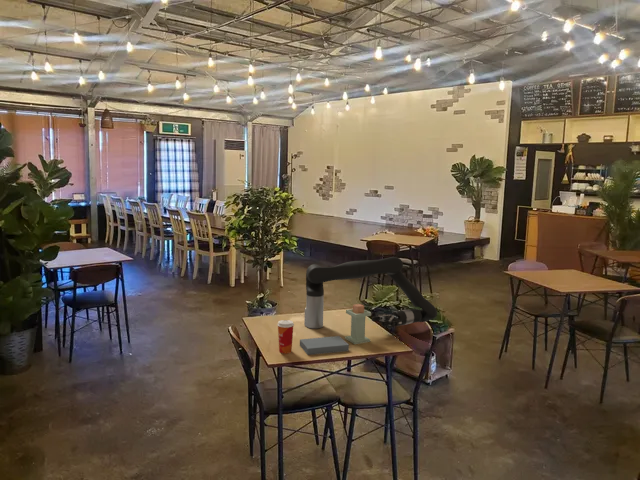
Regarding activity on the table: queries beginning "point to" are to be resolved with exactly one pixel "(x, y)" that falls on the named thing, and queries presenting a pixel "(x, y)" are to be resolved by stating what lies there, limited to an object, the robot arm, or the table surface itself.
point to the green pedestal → (358, 327)
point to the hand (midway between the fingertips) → (377, 321)
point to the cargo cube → (358, 308)
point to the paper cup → (285, 336)
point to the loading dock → (324, 345)
